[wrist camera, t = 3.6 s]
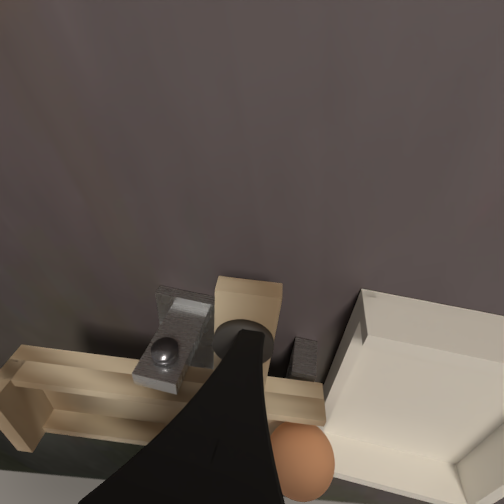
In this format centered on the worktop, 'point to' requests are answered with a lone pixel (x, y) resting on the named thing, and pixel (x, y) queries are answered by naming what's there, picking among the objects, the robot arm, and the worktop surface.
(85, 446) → the worktop surface
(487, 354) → the dish
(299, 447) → the egg
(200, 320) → the pivot base
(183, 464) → the robot arm
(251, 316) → the lever
